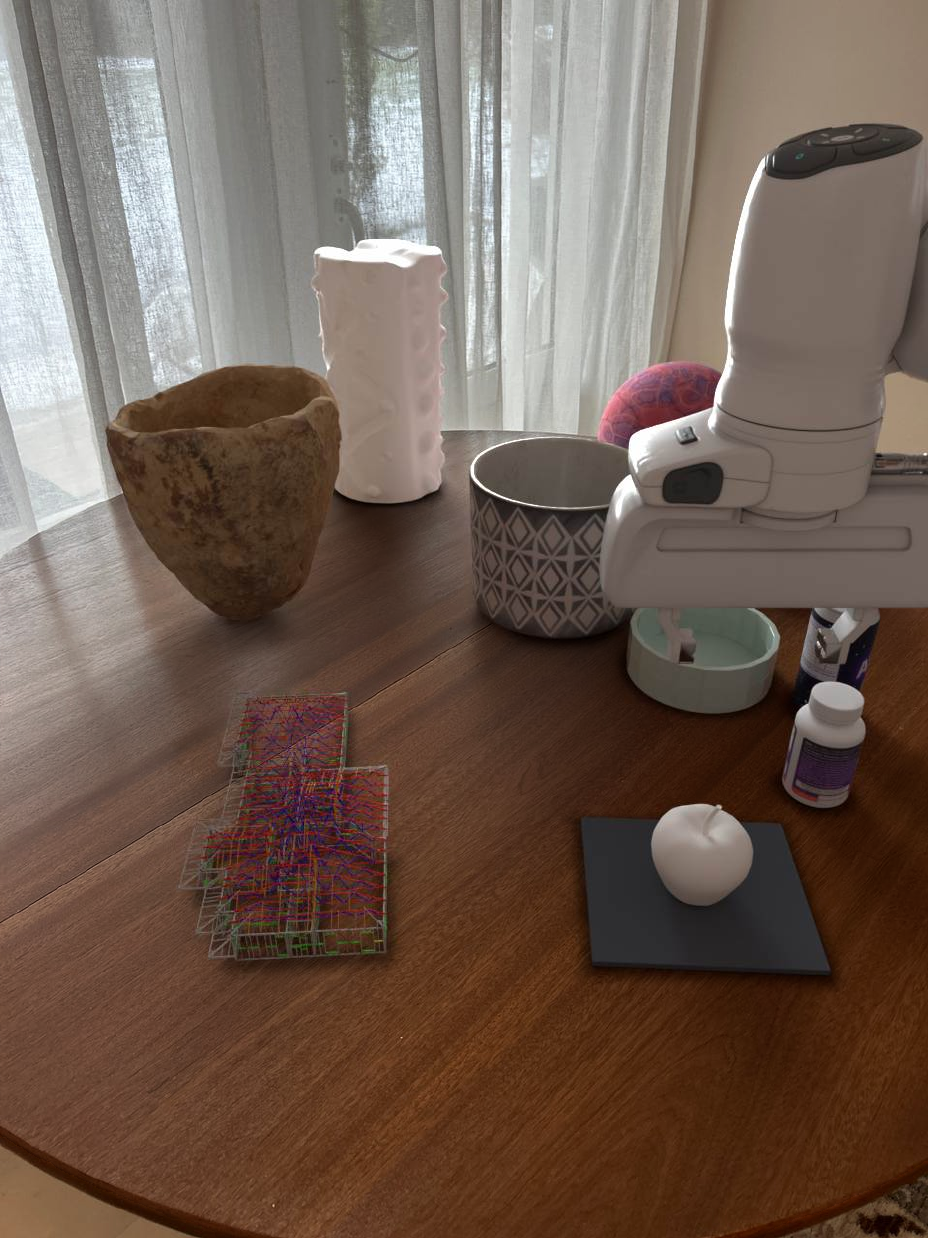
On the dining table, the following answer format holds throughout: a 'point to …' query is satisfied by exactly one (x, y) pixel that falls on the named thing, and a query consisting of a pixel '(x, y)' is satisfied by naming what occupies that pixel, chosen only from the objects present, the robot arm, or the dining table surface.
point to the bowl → (232, 481)
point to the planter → (544, 534)
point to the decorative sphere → (657, 399)
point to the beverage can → (842, 673)
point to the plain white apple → (701, 853)
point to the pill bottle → (825, 746)
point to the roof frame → (302, 804)
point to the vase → (384, 365)
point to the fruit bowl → (705, 659)
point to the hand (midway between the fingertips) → (754, 659)
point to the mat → (696, 908)
